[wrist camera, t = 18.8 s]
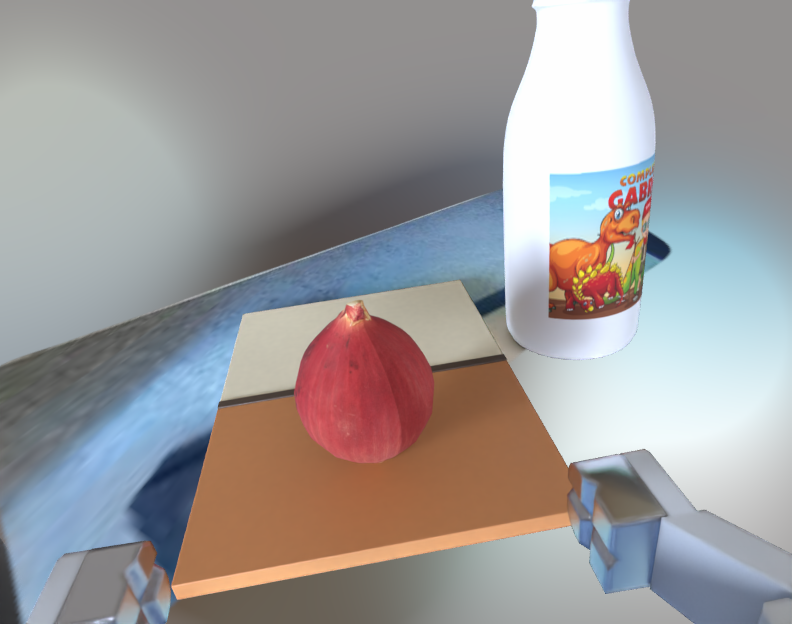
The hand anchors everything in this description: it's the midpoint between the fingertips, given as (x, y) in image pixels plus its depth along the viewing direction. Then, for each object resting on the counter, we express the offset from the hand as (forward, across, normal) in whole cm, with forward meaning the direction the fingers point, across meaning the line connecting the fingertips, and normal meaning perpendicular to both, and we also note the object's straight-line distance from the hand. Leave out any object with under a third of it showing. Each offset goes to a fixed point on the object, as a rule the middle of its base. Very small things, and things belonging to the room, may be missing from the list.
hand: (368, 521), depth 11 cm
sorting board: (+18, 0, +10) cm, 20 cm away
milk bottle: (+21, -13, +10) cm, 26 cm away
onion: (+12, 0, +9) cm, 15 cm away
